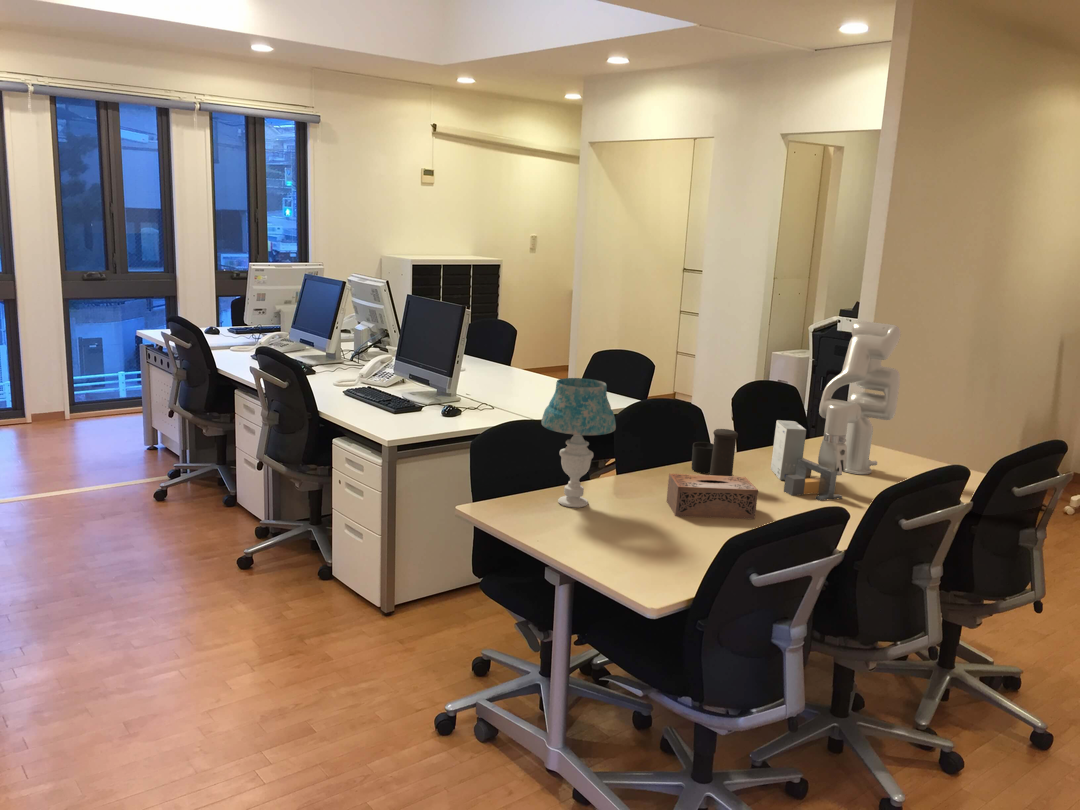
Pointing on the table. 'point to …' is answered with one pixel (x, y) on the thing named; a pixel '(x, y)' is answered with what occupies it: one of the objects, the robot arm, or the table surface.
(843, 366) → the robot arm
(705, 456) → the pen holder
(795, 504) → the table surface
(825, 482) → the bracket
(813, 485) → the plug
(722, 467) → the container
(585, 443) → the table lamp
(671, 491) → the tissue box cover
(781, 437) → the hard drive box
